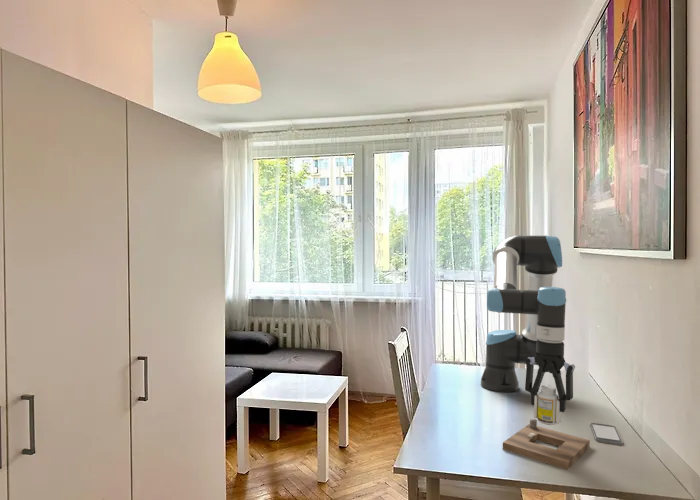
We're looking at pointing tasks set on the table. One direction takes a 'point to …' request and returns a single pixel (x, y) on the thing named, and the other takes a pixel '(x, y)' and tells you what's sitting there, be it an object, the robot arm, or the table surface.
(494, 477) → the table surface
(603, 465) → the table surface
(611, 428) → the smartphone
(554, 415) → the supplement bottle
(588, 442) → the wooden slotted board
